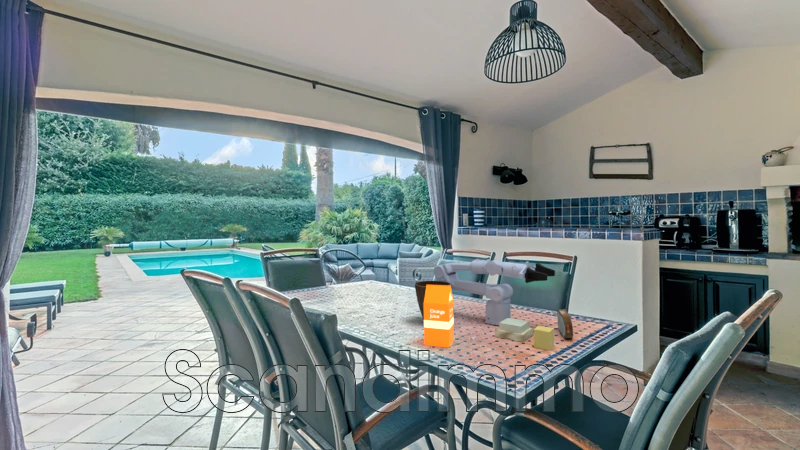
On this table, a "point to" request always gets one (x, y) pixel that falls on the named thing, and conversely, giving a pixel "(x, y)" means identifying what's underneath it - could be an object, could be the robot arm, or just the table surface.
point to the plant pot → (421, 290)
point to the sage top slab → (514, 325)
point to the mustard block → (544, 338)
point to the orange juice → (438, 316)
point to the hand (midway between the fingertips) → (550, 275)
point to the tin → (565, 323)
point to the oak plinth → (514, 335)
